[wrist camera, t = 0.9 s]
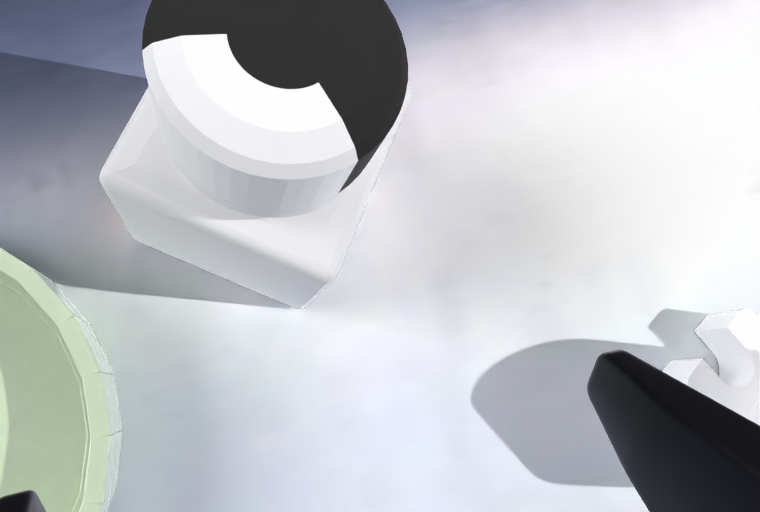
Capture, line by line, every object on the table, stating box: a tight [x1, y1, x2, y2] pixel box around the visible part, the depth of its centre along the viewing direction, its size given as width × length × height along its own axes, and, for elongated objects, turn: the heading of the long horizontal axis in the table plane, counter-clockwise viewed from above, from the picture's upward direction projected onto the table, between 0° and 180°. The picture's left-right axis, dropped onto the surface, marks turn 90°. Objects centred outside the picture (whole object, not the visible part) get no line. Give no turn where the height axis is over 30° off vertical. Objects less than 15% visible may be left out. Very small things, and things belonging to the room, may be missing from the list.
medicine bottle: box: [99, 0, 412, 309], centre depth 19 cm, size 7×7×12 cm
